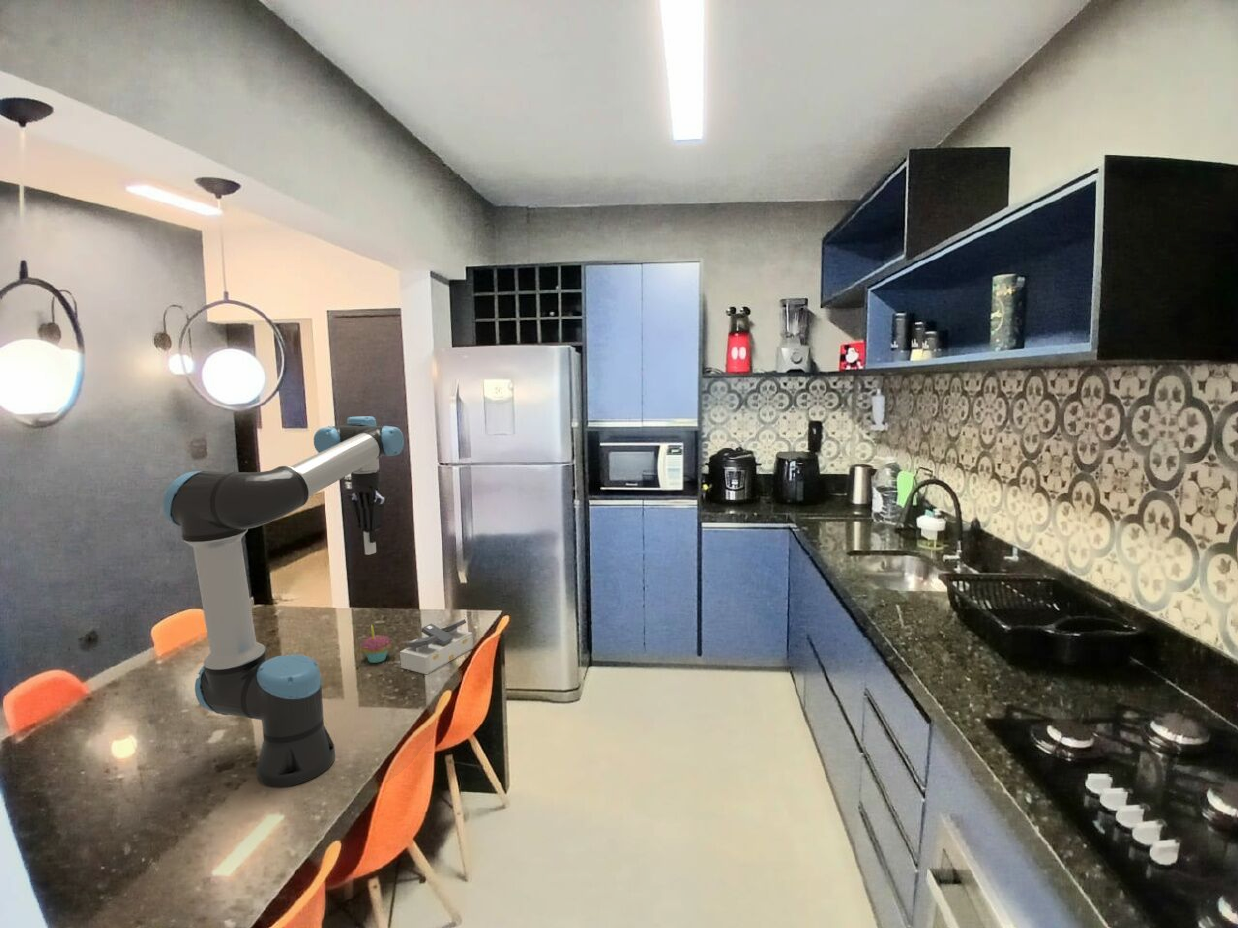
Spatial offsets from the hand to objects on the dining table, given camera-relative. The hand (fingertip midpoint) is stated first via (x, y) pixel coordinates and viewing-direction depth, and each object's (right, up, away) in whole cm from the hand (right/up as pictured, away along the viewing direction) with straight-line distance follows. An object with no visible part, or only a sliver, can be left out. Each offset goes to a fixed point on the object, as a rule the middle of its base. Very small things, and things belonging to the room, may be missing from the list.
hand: (370, 553), depth 180 cm
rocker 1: (+13, -26, +4) cm, 30 cm away
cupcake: (-2, -34, +10) cm, 35 cm away
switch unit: (+16, -33, +11) cm, 38 cm away
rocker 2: (+16, -26, +10) cm, 32 cm away
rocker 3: (+19, -25, +15) cm, 35 cm away
